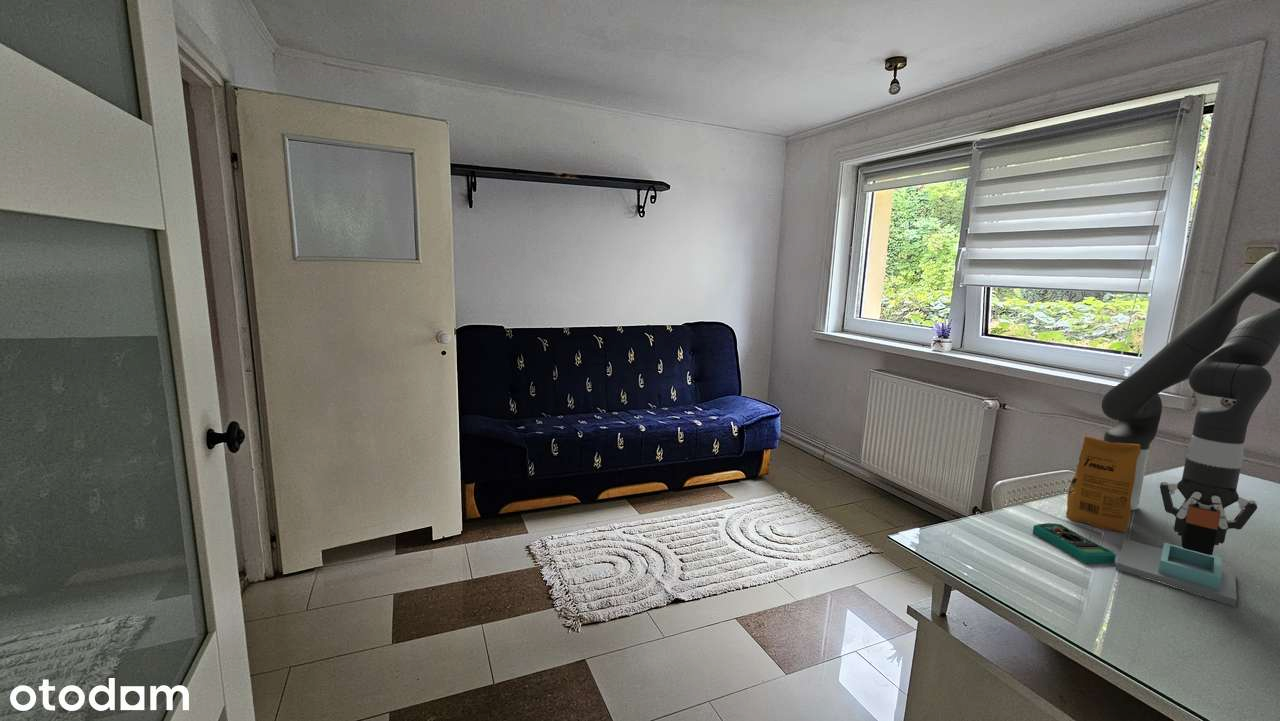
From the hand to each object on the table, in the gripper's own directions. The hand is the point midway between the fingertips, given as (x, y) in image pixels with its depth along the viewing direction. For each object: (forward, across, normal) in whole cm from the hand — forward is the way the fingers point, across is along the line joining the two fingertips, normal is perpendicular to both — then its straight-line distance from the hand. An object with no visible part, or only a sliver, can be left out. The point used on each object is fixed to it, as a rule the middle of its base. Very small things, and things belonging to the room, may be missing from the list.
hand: (1197, 538), depth 107 cm
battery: (+2, 0, 0) cm, 2 cm away
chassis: (+9, -2, 0) cm, 9 cm away
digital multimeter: (+9, -19, -3) cm, 21 cm away
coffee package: (+9, -17, +19) cm, 27 cm away
